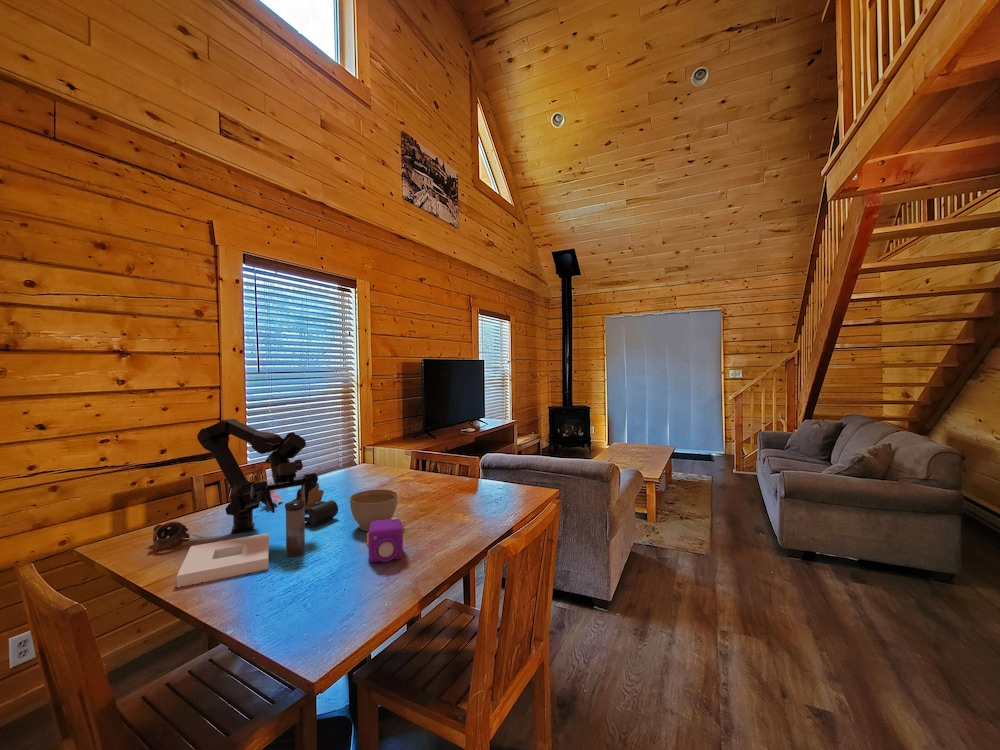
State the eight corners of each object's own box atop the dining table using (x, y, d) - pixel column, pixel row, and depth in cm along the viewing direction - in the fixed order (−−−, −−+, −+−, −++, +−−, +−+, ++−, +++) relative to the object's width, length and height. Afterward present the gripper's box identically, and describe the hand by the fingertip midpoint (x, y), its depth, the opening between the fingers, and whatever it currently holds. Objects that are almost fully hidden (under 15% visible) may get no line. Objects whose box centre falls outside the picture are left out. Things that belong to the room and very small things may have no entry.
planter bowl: (361, 540, 131) (361, 506, 131) (342, 526, 144) (342, 495, 144) (406, 527, 142) (406, 496, 142) (385, 515, 154) (385, 486, 154)
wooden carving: (314, 501, 171) (314, 477, 171) (324, 501, 170) (324, 477, 170) (288, 515, 155) (288, 488, 155) (300, 515, 154) (299, 489, 154)
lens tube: (285, 552, 123) (284, 502, 123) (305, 548, 126) (304, 499, 126) (285, 559, 118) (285, 507, 118) (306, 555, 121) (305, 504, 121)
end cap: (317, 528, 141) (316, 509, 141) (301, 526, 144) (301, 506, 144) (338, 519, 151) (338, 500, 151) (323, 516, 153) (323, 498, 153)
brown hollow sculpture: (199, 540, 133) (193, 523, 129) (171, 565, 125) (164, 547, 121) (170, 528, 135) (163, 511, 131) (140, 552, 127) (132, 534, 123)
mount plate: (191, 556, 120) (191, 546, 120) (269, 542, 130) (269, 532, 130) (176, 587, 103) (176, 575, 103) (268, 568, 113) (268, 558, 113)
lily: (264, 515, 158) (277, 491, 160) (241, 501, 161) (255, 478, 163) (283, 514, 169) (295, 492, 172) (261, 501, 172) (274, 480, 174)
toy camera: (371, 572, 111) (371, 535, 110) (363, 552, 123) (362, 519, 123) (411, 563, 116) (410, 528, 115) (399, 545, 128) (399, 513, 128)
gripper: (251, 456, 124) (259, 501, 116) (316, 448, 136) (327, 488, 128) (246, 477, 130) (254, 521, 122) (309, 467, 142) (319, 507, 134)
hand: (290, 508), depth 126 cm, fingers open, 9 cm apart
